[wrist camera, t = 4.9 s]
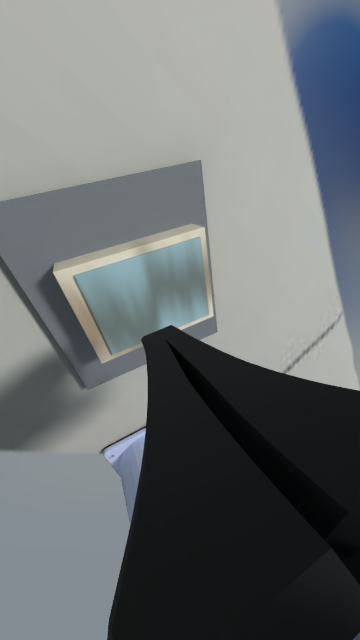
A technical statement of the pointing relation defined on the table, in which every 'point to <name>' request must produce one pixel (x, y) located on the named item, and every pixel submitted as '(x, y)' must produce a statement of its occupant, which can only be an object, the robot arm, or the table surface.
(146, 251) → the birch framed mirror
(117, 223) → the rubber mat
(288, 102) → the table surface
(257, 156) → the table surface
